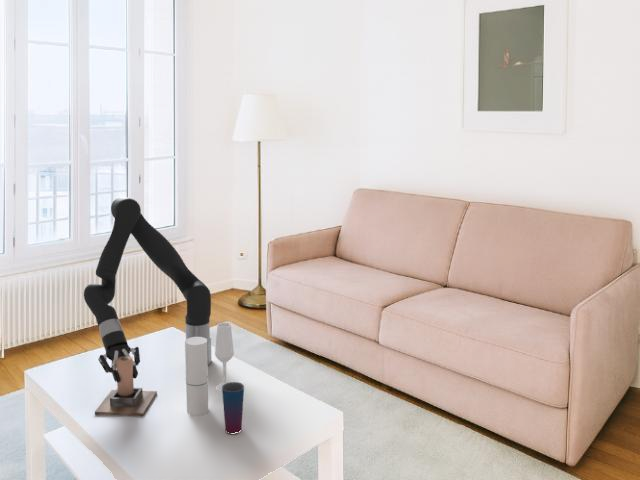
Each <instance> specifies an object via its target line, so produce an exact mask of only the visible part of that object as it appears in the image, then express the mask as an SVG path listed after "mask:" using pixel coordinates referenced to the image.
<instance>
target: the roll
mask: <svg viewBox="0 0 640 480" xmlns="http://www.w3.org/2000/svg"><path fill="white" fill-rule="evenodd" d="M130 356H131V355H130ZM130 356H123V357H119V358H117V359H116V364H117V368H116V370H117V371H118V373H119V376H120V382H119V383H117V382H116V383H117V384H116V385H117V388H118V394H119V395H121V396H127V395H130V394H132V393H133V392H134V388H135V387H134V386H135V385H134V378H133V361H134V360H133V357H132V356H131V357H130Z"/></svg>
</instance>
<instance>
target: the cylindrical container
mask: <svg viewBox="0 0 640 480" xmlns="http://www.w3.org/2000/svg"><path fill="white" fill-rule="evenodd" d="M184 351H185V352H184V353H185V354H184V356H185V381H186V382H185V385H186V386H185V387H186V388H185V393H186V396H185V397H186V412H187V414H188V415H190V416H195V417H199V416H203V414H204V415H205V413H206V414H207V413H208V412H209V410H210V409H209V374H208V373H209V372H208V369H209V368H208V367H209V366H208V357H207V339H206V338H204V337H191V338H188V339H186V338H185V340H184Z"/></svg>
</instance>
